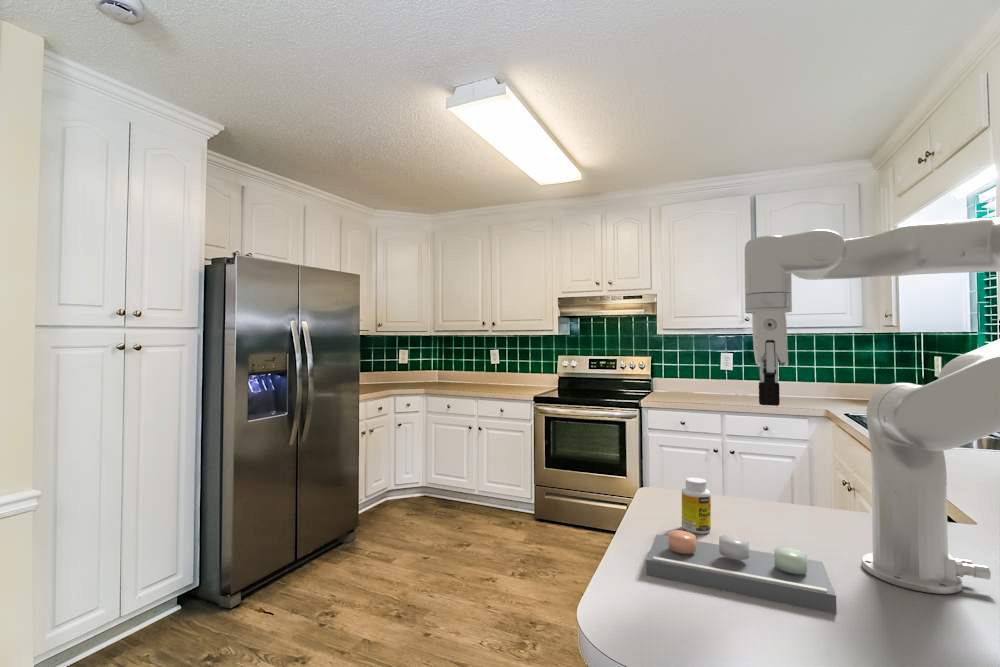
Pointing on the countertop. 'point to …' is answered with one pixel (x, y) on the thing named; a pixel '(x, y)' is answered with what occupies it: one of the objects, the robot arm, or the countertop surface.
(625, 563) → the countertop surface
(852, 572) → the countertop surface
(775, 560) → the sage button
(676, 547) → the terracotta button
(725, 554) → the grey button
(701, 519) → the supplement bottle
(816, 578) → the button panel
